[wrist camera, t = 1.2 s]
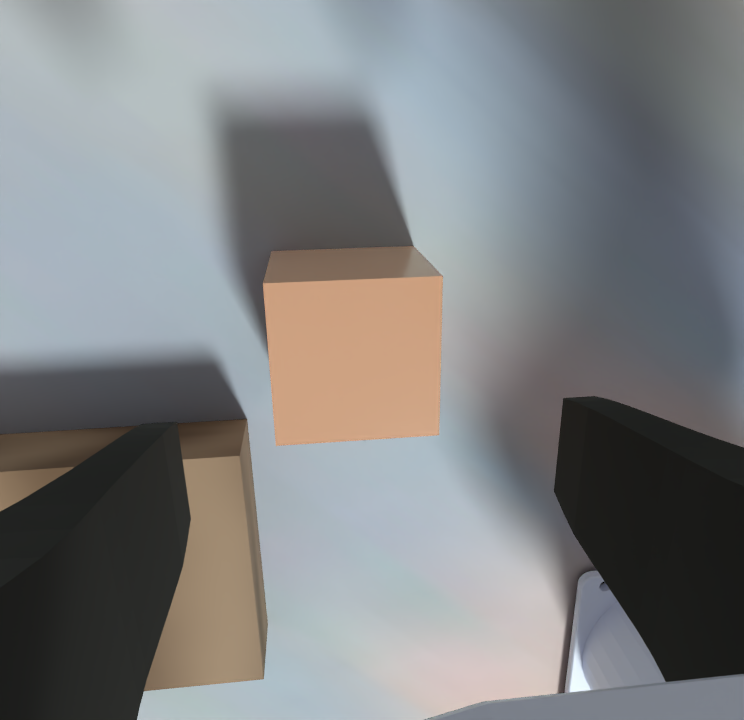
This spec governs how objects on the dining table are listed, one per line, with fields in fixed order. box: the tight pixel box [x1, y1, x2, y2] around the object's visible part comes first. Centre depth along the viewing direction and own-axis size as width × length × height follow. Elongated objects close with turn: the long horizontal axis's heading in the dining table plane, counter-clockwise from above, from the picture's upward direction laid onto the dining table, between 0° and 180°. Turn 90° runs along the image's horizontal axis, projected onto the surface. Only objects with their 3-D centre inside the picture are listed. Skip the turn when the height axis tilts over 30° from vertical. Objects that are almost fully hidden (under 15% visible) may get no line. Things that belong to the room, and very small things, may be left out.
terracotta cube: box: [263, 246, 443, 446], centre depth 18 cm, size 4×4×4 cm
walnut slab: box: [0, 419, 268, 691], centre depth 21 cm, size 9×9×3 cm
